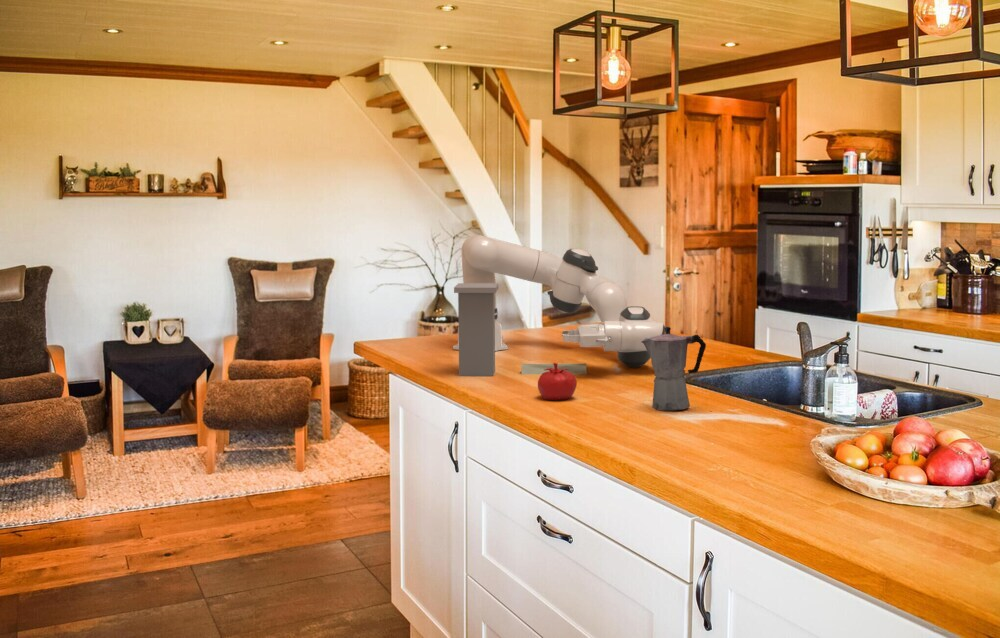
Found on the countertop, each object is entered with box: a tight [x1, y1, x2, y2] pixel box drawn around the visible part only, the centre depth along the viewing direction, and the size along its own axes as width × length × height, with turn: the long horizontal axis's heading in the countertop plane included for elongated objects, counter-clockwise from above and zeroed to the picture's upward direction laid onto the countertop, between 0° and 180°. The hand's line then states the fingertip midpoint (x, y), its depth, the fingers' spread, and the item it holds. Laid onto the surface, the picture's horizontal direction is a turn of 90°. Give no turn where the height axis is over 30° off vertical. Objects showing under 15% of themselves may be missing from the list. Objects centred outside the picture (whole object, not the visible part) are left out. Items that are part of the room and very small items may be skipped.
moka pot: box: [641, 326, 707, 412], centre depth 229 cm, size 10×15×20 cm, turn 85°
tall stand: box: [453, 282, 499, 377], centre depth 276 cm, size 14×12×26 cm
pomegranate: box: [537, 362, 578, 401], centre depth 241 cm, size 10×10×9 cm
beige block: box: [521, 362, 587, 375], centre depth 277 cm, size 4×19×3 cm, turn 89°
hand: (562, 336), depth 275 cm, fingers open, 7 cm apart
